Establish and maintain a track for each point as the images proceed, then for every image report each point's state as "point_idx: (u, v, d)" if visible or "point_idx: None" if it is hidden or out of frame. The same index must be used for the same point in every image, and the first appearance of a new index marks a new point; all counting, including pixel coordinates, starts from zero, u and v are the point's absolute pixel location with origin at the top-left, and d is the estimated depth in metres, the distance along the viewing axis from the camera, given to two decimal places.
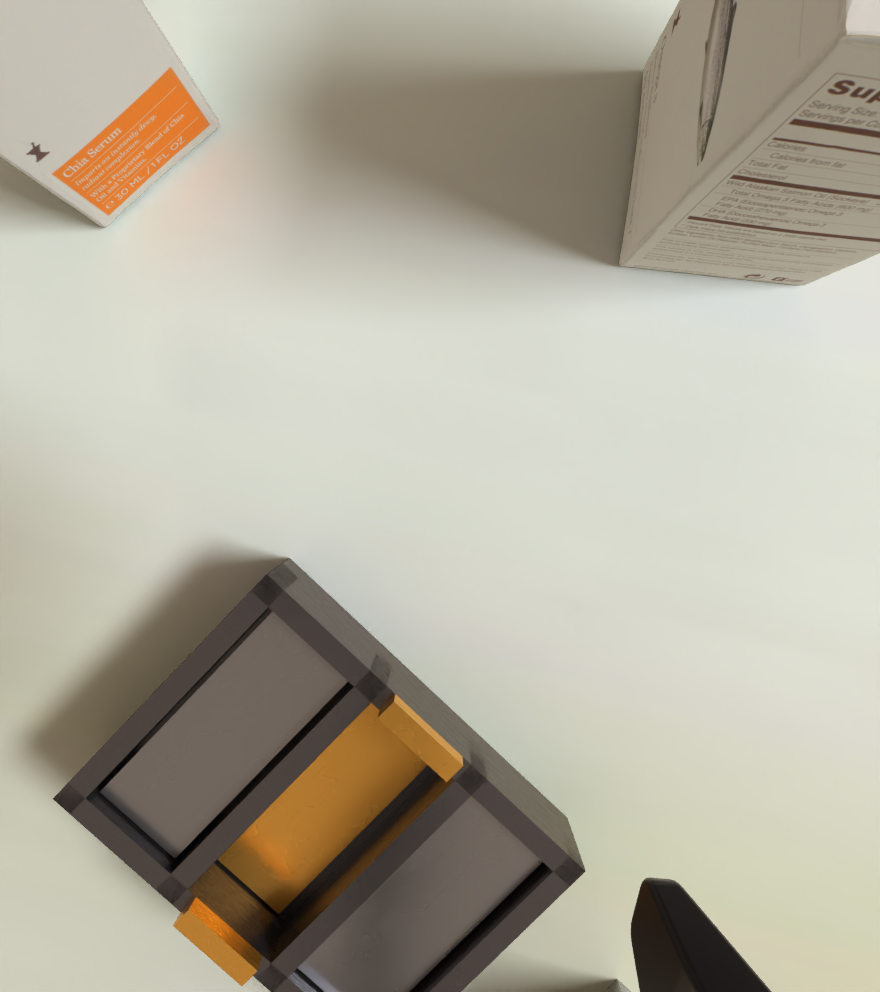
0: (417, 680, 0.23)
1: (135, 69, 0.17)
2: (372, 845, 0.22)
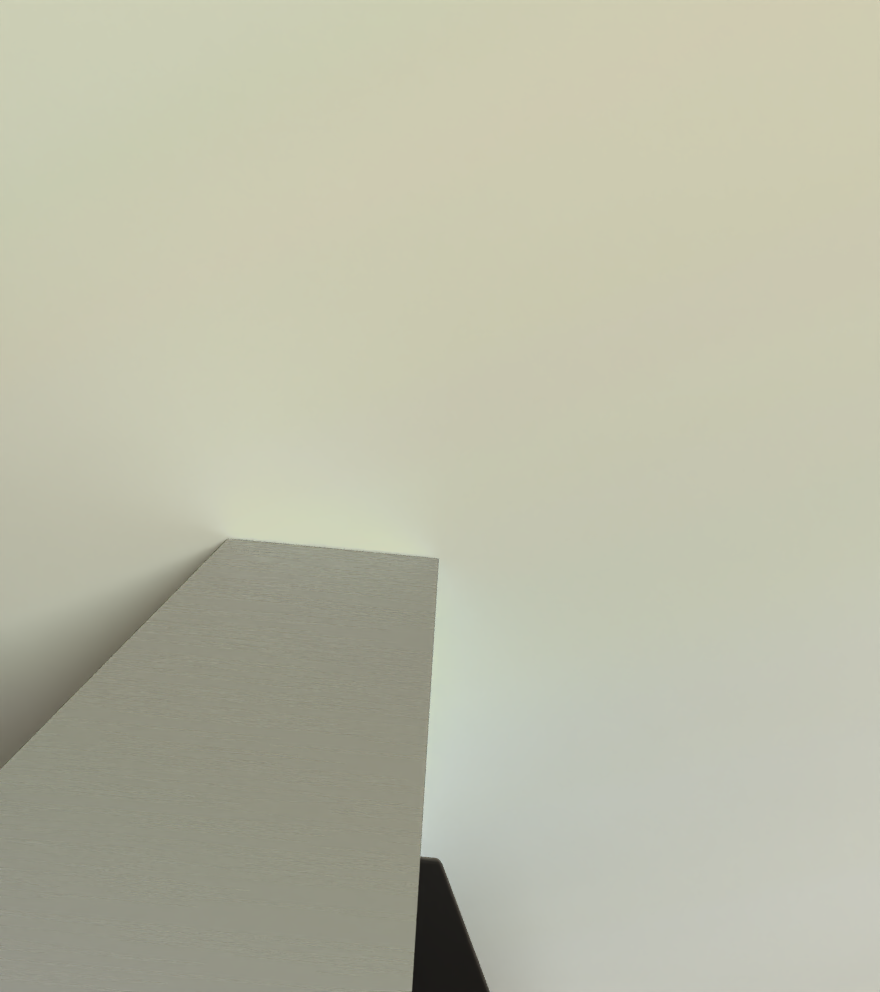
0: None
1: None
2: None
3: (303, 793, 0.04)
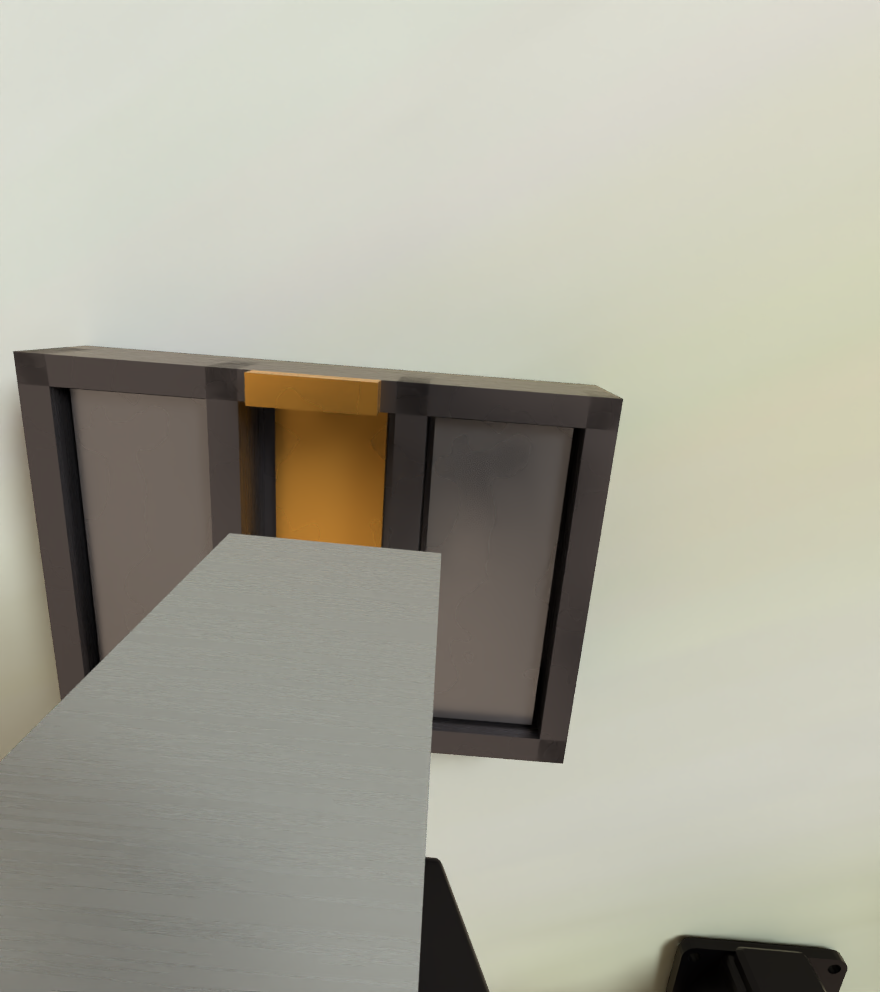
0: (314, 363, 0.17)
1: None
2: None
3: (304, 785, 0.04)
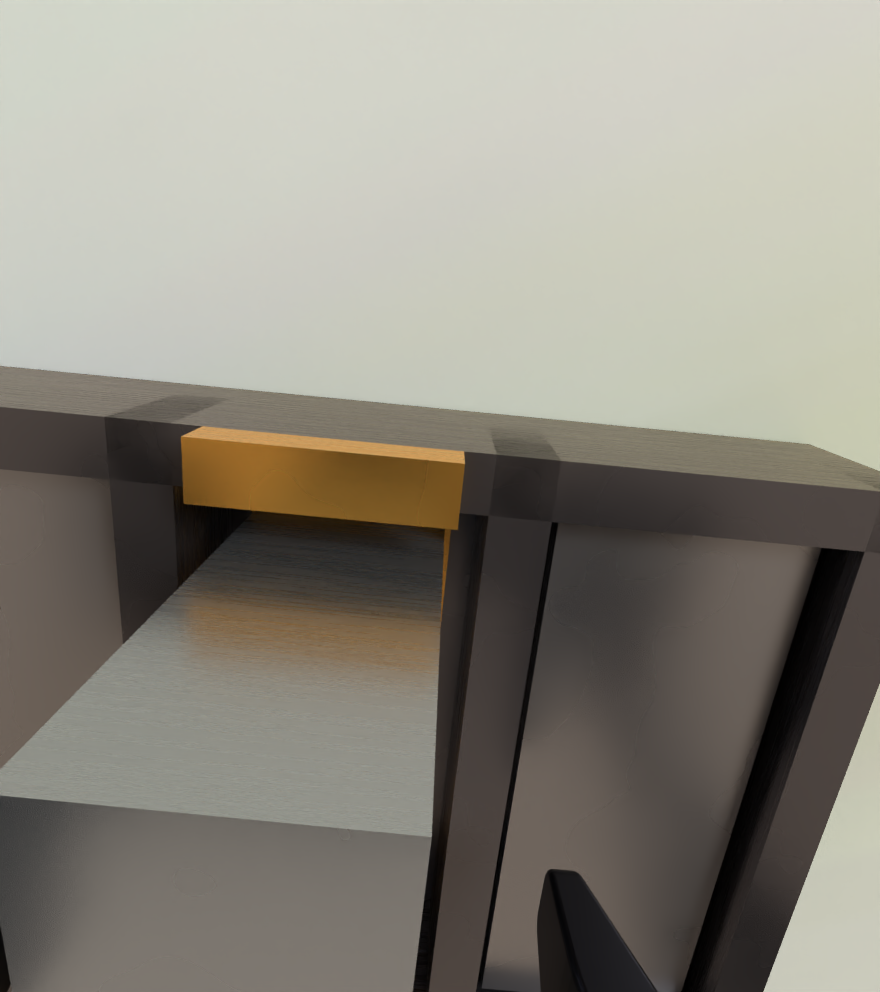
0: (322, 399, 0.10)
1: None
2: (454, 738, 0.10)
3: (352, 649, 0.05)
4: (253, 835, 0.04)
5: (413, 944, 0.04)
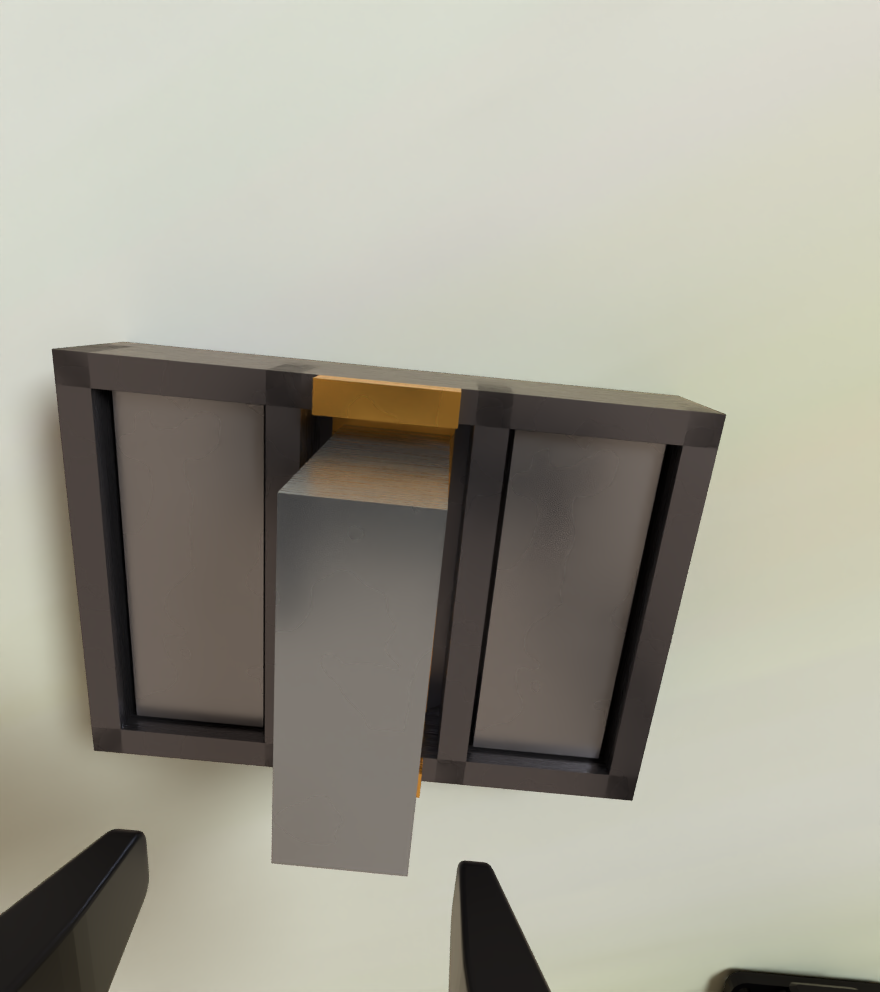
0: (374, 366, 0.16)
1: None
2: (455, 576, 0.16)
3: (407, 473, 0.11)
4: (380, 509, 0.10)
5: (440, 561, 0.10)
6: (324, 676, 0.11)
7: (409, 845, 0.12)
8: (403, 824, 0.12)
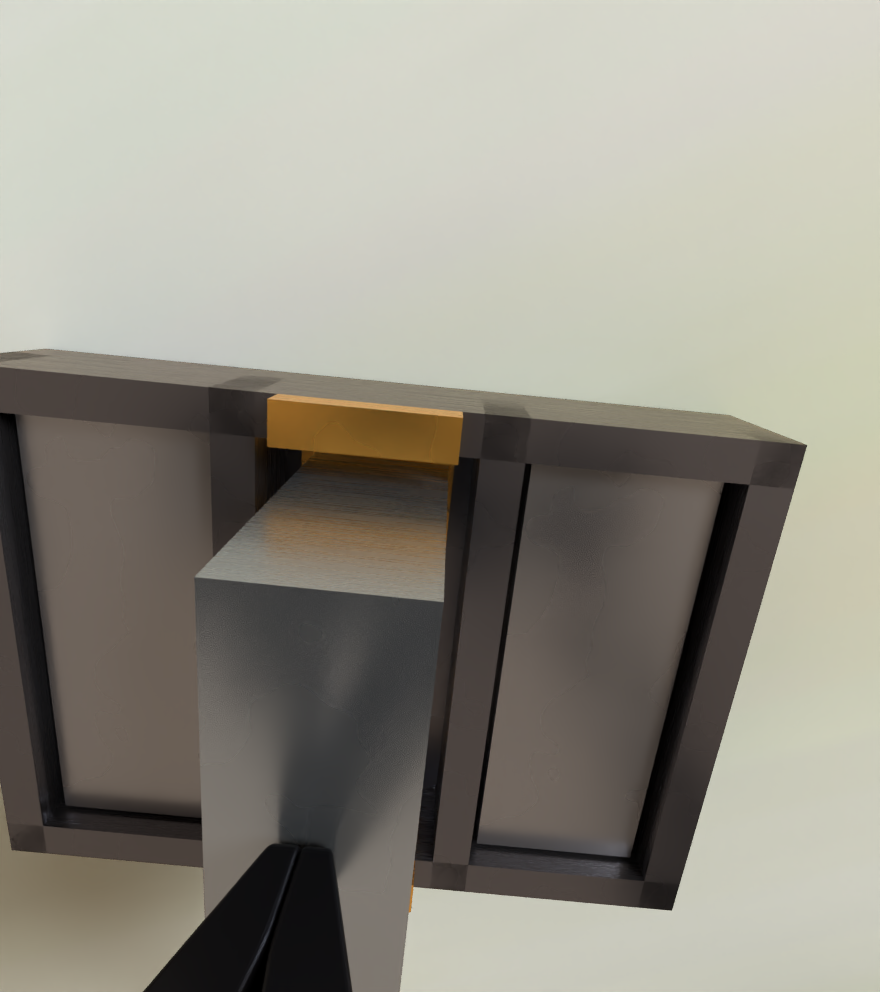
0: (354, 380, 0.13)
1: None
2: (455, 640, 0.13)
3: (389, 532, 0.08)
4: (344, 601, 0.07)
5: (432, 672, 0.07)
6: (271, 823, 0.08)
7: None
8: None
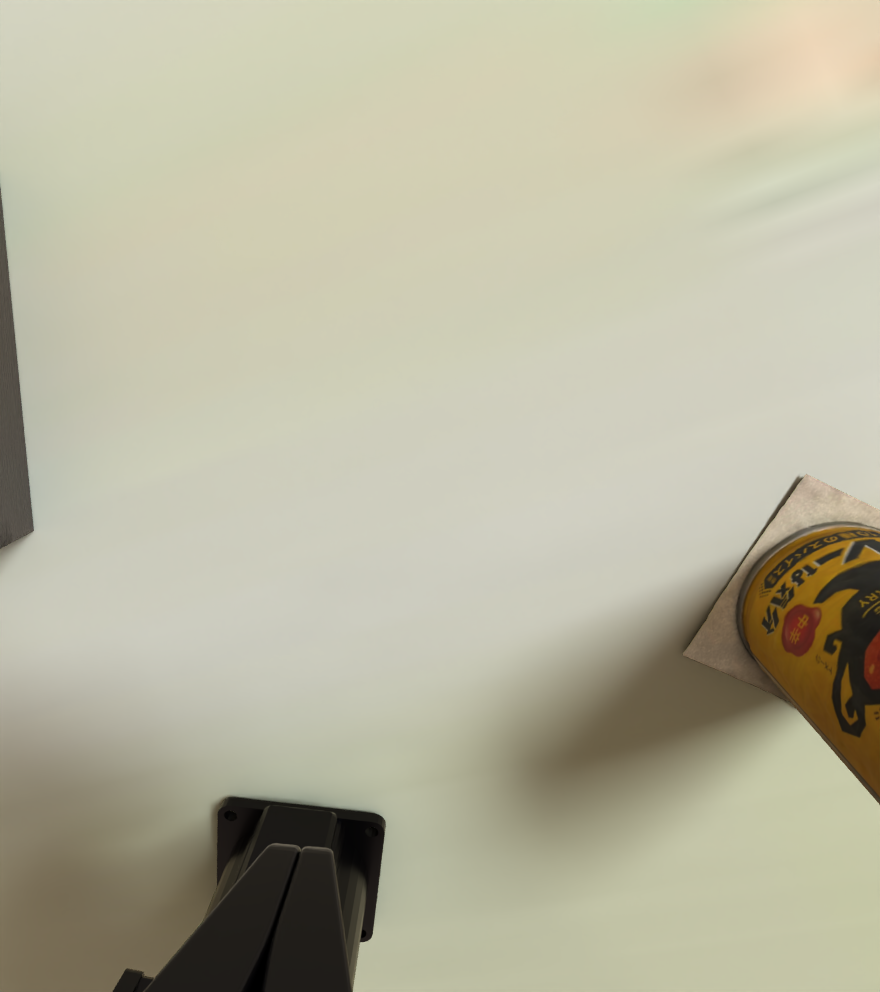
0: None
1: None
2: None
3: None
4: None
5: None
6: None
7: None
8: None
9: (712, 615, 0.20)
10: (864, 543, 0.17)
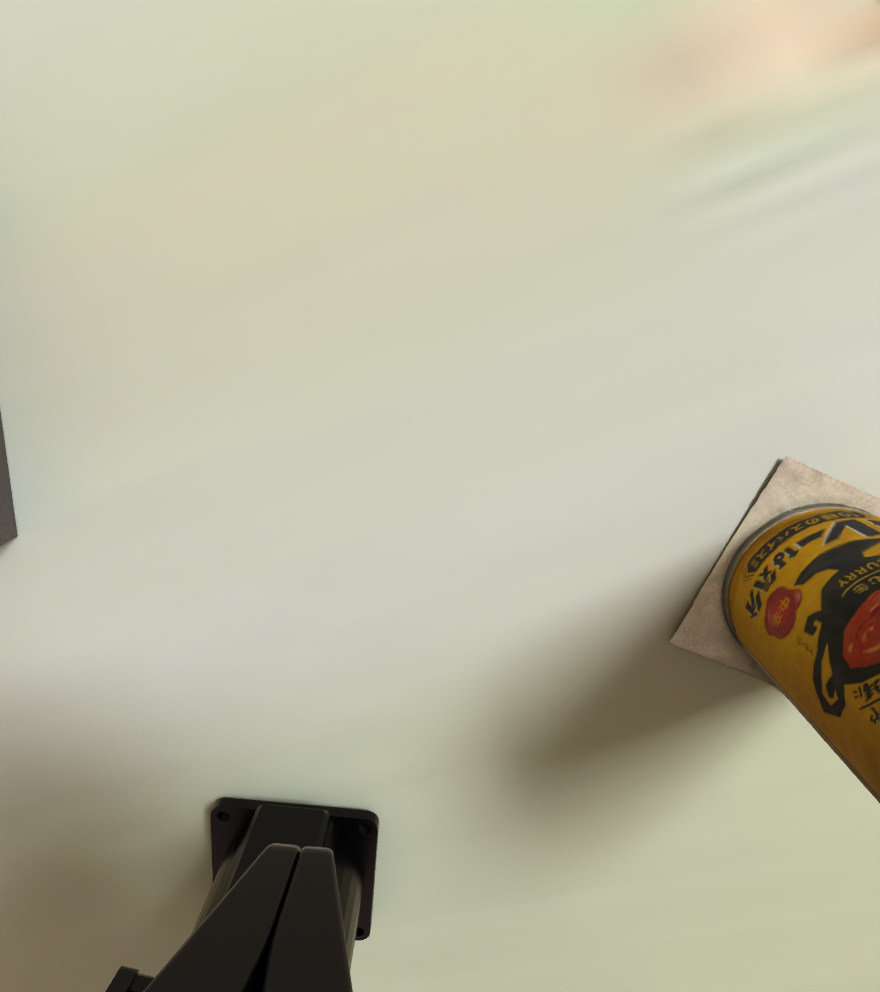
0: None
1: None
2: None
3: None
4: None
5: None
6: None
7: None
8: None
9: (698, 602, 0.20)
10: (845, 523, 0.17)
